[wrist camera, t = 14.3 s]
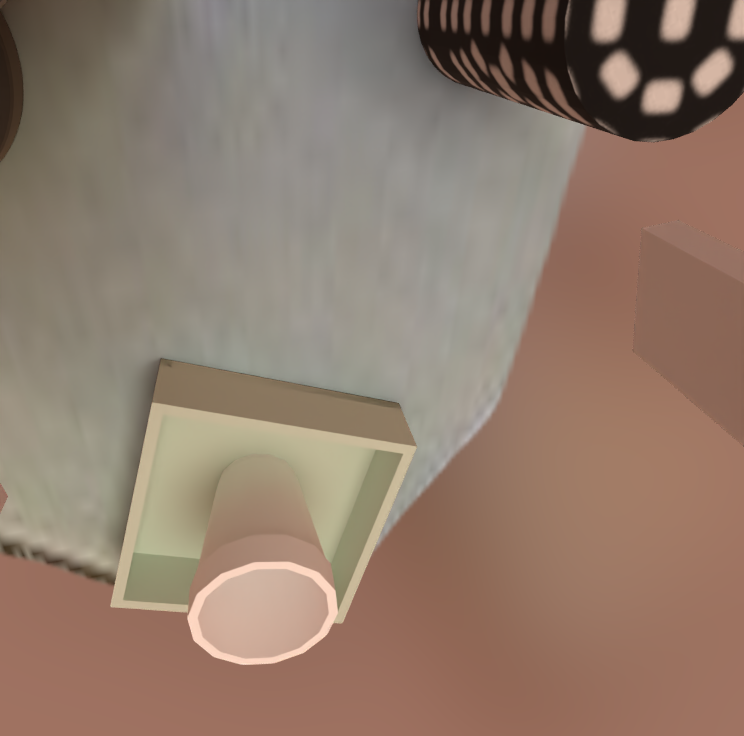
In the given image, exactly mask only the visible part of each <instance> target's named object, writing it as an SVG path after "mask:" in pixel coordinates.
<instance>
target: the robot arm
mask: <svg viewBox="0 0 744 736" xmlns="http://www.w3.org/2000/svg"><path fill="white" fill-rule="evenodd" d="M6 2H7V0H0V9H1V7H2V6H3V5H4V4H5V3H6ZM22 106H23V80H22V72H21V66H20V61H19V57H18V53H17V49H16V46H15V43H14V40H13V37H12V35H11V32H10V30H9V27H8V25H7V23H6V21H5V19H4V17H3V15H2V13H1V11H0V162H1V160H2V159H3V158H4V156H5V155H6V153H7V152H8V150H9V148H10V146H11V145H12V143H13V141H14V138H15V136H16V133H17V130H18V127H19V124H20V119H21V114H22ZM633 352H634V353H635V354H636V355H638V356H639V357H640V358H641V359H642V360H643V361H645V362H646V363H647V364H648V365H649V366H650V367H652V368H653V369H654V370H655V371H656V372H657V373H659V374H660V375H661V376H662V377H663V378H664V379H666V380H667V381H668V382H669V383H670V384H671V385H673V386H674V387H675V388H676V389H678V391H680V392H681V393H682V394H683V395H684V396H685V397H687V398H688V399H689V400H690V401H691V402H692V403H694V404H695V405H696V406H697V407H698V408H699V409H700V410H702V411H703V412H704V413H705V414H706V415H707V416H709V417H710V418H711V419H712V420H714V421H715V422H716V423H717V424H718V425H719V426H720V427H721V428H723V429H724V430H725V431H726V432H727V433H728V434H730V435H731V436H732V437H733V438H734V439H736V440H737V441H738V442H739V443H740V444H741V445H743V446H744V251H742V250H740V249H737V248H735V247H733V246H731V245H729V244H727V243H725V242H722V241H721V240H719V239H717V238H714V237H712V236H710V235H708V234H706V233H704V232H702V231H700V230H698V229H696V228H694V227H691V226H689V225H687V224H685V223H683V222H681V221H679V220H677V221H673V222H668V223H663V224H659V225H654V226H649V227H645V228H642V229H641V242H640V256H639V270H638V284H637V297H636V311H635V324H634V339H633ZM7 497H8V496H7V494H6V492H5V490H4V489H3V487H2V485H1V484H0V513H1V511H2V508H3V506H4V504H5V502H6V500H7Z"/></svg>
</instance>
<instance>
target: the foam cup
mask: <svg viewBox="0 0 744 736" xmlns="http://www.w3.org/2000/svg"><path fill="white" fill-rule="evenodd" d="M337 614H338V609H337V600H336V591H335V585H334V579H333V574H332V568H331V563H330V562H329V561H328V560H327V559H326V558H325V555H324V552H323V549H322V546H321V544H320V541H319V538H318V535H317V532H316V530H315V527H314V524H313V521H312V518H311V515H310V513H309V510H308V507H307V504H306V501H305V499H304V496H303V493H302V490H301V487H300V484H299V482H298V479H297V477H296V475H295V472H294V471H293V469H292V468H291V467H290V466H289V465H288V463H287V462H286V461H284V460H282V459H279V458H277V457H275V456H273V455H269V454H251V455H248V456H245V457H242V458H239V459H237V460H235V461H233V462H232V463H231V464H230V465H229V466H228V467H227V468H226V469H224V470H223V472H222V475H221V477H220V480H219V483H218V487H217V489H216V493H215V497H214V501H213V506H212V510H211V514H210V518H209V522H208V527H207V531H206V535H205V539H204V543H203V548H202V552H201V556H200V560H199V564H198V568H197V571H196V573H195V576H194V579H193V581H192V584H191V586H190V590H189V603H188V617H187V618H188V622H189V625H190V629H191V633H192V636H193V639H194V641H195V642H196V643H197V644H199V645H200V646H201V647H202V648H203V649H205V650H206V651H207V652H208V653H209V654H211V655H212V656H213V657H216V658H219V659H223V660H226V661H230V662H234V663H237V664H241V665H249V664H267V663H276V662H279V661H282V660H284V659H287V658H290V657H293V656H296V655H299V654H302V653H304V652H305V651H307V650H308V649H309V648H310V647H312V646H313V645H314V644H316V643H317V642H318V641H320V640H321V639H322V638H323V637H325V636H326V635H327V633H328V631H329V630H330V627H331V626H332V624H333V622H334V620H335V618H336V616H337Z"/></svg>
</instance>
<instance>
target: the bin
mask: <svg viewBox="0 0 744 736" xmlns="http://www.w3.org/2000/svg"><path fill="white" fill-rule="evenodd" d="M416 448H417V445H416V443H415V441H414V438H413V436H412V434H411V431H410V429H409V426H408V424H407V422H406V419H405V417H404V415H403V412H402V410H401V407H400V405H399V403H395V402H389V401H384V400H379V399H374V398H368V397H363V396H358V395H352V394H347V393H342V392H336V391H331V390H326V389H320V388H315V387H310V386H305V385H299V384H294V383H289V382H283V381H278V380H273V379H267V378H262V377H257V376H252V375H246V374H241V373H236V372H230V371H225V370H220V369H214V368H209V367H204V366H199V365H193V364H188V363H183V362H177V361H172V360H167V359H161V361H160V366H159V371H158V376H157V381H156V385H155V390H154V395H153V400H152V405H151V410H150V415H149V420H148V425H147V430H146V434H145V439H144V444H143V449H142V454H141V459H140V464H139V469H138V474H137V478H136V483H135V488H134V493H133V498H132V503H131V508H130V513H129V518H128V523H127V527H126V532H125V537H124V542H123V547H122V552H121V557H120V562H119V567H118V572H117V576H116V581H115V586H114V591H113V596H112V601H111V606H110V607H118V608H132V609H146V610H160V611H161V610H162V611H175V612H188V603H189V590H190V586H191V584H192V581H193V579H194V576H195V573H196V571H197V568H198V564H199V560H200V556H201V552H202V548H203V543H204V539H205V535H206V531H207V527H208V522H209V518H210V514H211V510H212V506H213V501H214V497H215V493H216V489H217V487H218V483H219V480H220V477H221V475H222V472H223V470H224V469H226V468H227V467H228V466H229V465H230V464H231V463H232V462H233V461H235V460H237V459H239V458H242V457H245V456H248V455H251V454H269V455H273V456H275V457H277V458H279V459H282V460H284V461H286V462H287V463H288V465H289V466H290V467H291V468H292V469H293V471H294V472H295V475H296V477H297V479H298V482H299V484H300V487H301V490H302V493H303V496H304V499H305V501H306V504H307V507H308V510H309V513H310V515H311V518H312V521H313V524H314V527H315V530H316V532H317V535H318V538H319V541H320V544H321V546H322V549H323V552H324V555H325V558H326V559H327V560H328V561H329V562H330V563H331V568H332V574H333V579H334V585H335V591H336V600H337V609H338V614H337V616H336V618H335V620H334V622H333V623H343V621H344V618H345V616H346V613H347V611H348V609H349V606H350V604H351V602H352V599H353V597H354V595H355V592H356V590H357V587H358V584H359V583H360V580H361V578H362V575H363V573H364V571H365V569H366V566H367V564H368V561H369V559H370V557H371V554H372V552H373V550H374V547H375V545H376V543H377V540H378V538H379V535H380V533H381V531H382V528H383V526H384V524H385V521H386V519H387V517H388V514H389V512H390V509H391V507H392V505H393V502H394V500H395V498H396V495H397V493H398V490H399V488H400V486H401V483H402V481H403V479H404V476H405V474H406V472H407V469H408V467H409V464H410V462H411V460H412V457H413V455H414V453H415V450H416Z"/></svg>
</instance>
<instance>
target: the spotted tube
mask: <svg viewBox="0 0 744 736" xmlns="http://www.w3.org/2000/svg"><path fill="white" fill-rule="evenodd" d="M417 19H418V30H419V34H420V39H421V43H422V45H423V47H424V50H425V52H426V54H427V56H428V58H429V59H430V61H431V62H432V63H433V65H434V66H435V67H436V68H437V69H438V70H439V71H440V72H441V73H442V74H443V75H444V76H446V77H447V78H449V79H451V80H452V81H454V82H456V83H460V84H463V85H466V86H469V87H472V88H475V89H478V90H481V91H484V92H487V93H490V94H493V95H496V96H499V97H502V98H505V99H508V100H511V101H514V102H517V103H520V104H523V105H526V106H529V107H532V108H535V109H538V110H541V111H544V112H547V113H550V114H553V115H556V116H559V117H562V118H565V119H568V120H571V121H574V122H577V123H581V124H584V125H587V126H590V127H593V128H596V129H599V130H602V131H605V132H608V133H611V134H614V135H617V136H620V137H623V138H626V139H629V140H633V141H642V142H658V141H664V140H671V139H675V138H678V137H681V136H683V135H686V134H689V133H691V132H694V131H696V130H697V129H699V128H701V127H703V126H704V125H706V124H708V123H709V122H711V121H713V120H714V119H716V118H717V117H718V116H719V115H720V114H722V113H723V112H724V111H725V110H726V109H728V108H729V107H730V106H731V105H732V104H733V103H734V102H735V101H736V100H737V99H738V98H739V97H740V95H742V93H743V92H744V0H419V1H418V10H417Z"/></svg>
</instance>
